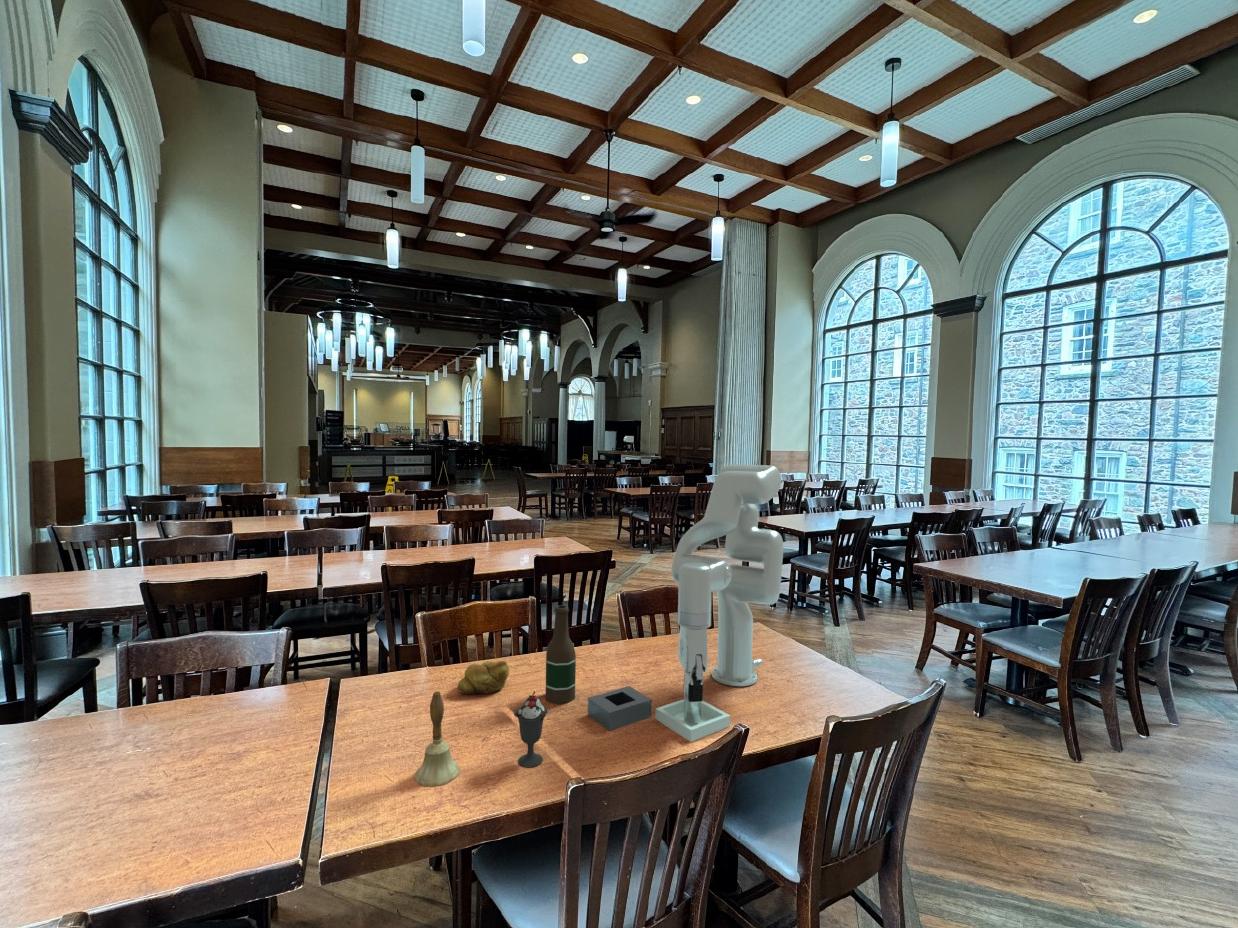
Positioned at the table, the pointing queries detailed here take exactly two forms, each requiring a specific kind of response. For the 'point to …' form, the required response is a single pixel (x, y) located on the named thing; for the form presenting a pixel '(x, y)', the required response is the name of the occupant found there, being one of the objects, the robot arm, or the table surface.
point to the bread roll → (484, 677)
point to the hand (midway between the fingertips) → (692, 695)
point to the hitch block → (619, 707)
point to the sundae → (530, 728)
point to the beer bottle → (560, 661)
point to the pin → (690, 703)
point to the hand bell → (437, 752)
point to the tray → (692, 731)
